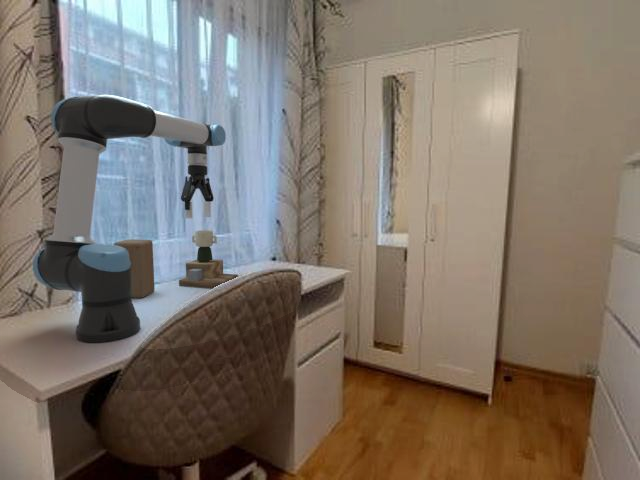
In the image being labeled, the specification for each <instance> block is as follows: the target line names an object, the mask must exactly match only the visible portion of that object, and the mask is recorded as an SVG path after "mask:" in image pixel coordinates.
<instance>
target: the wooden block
mask: <svg viewBox="0 0 640 480" xmlns="http://www.w3.org/2000/svg"><path fill="white" fill-rule="evenodd" d="M113 245H117V246H121V247H123V248H125V249H126V250H127V251H128V252H129V258H130V262H131V293H132V299H138V298H139V299H142V298H145V297H147V296H148V295H150V294H152V293H153V292H155V273H154V272H155V271H154V270H155V268H154V267H155V265H154V249H153V248H154V247H153V246H154V245H153V240H151V239H129V238H128V239H123V240H121V241H116V242H114V243H113Z"/></svg>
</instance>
